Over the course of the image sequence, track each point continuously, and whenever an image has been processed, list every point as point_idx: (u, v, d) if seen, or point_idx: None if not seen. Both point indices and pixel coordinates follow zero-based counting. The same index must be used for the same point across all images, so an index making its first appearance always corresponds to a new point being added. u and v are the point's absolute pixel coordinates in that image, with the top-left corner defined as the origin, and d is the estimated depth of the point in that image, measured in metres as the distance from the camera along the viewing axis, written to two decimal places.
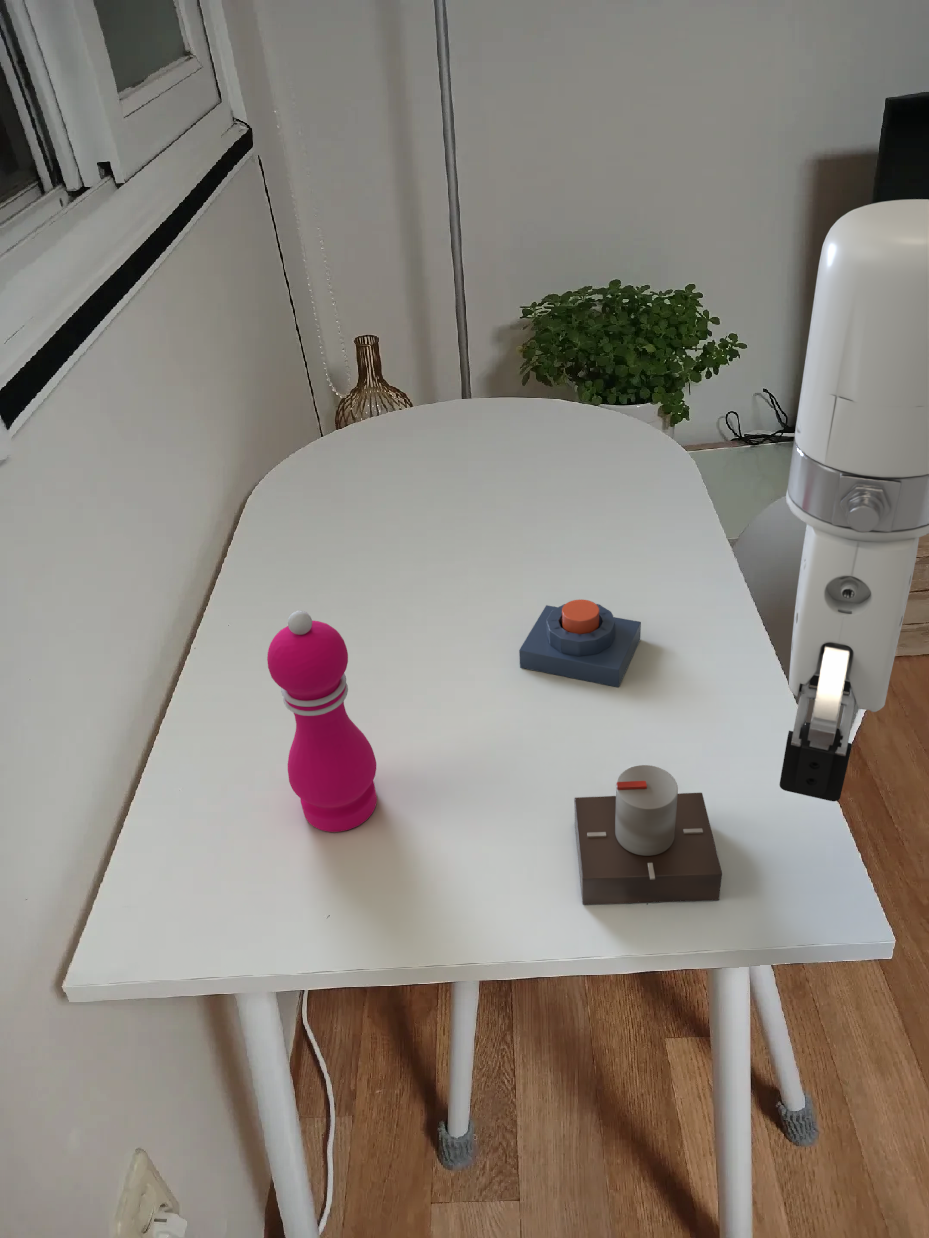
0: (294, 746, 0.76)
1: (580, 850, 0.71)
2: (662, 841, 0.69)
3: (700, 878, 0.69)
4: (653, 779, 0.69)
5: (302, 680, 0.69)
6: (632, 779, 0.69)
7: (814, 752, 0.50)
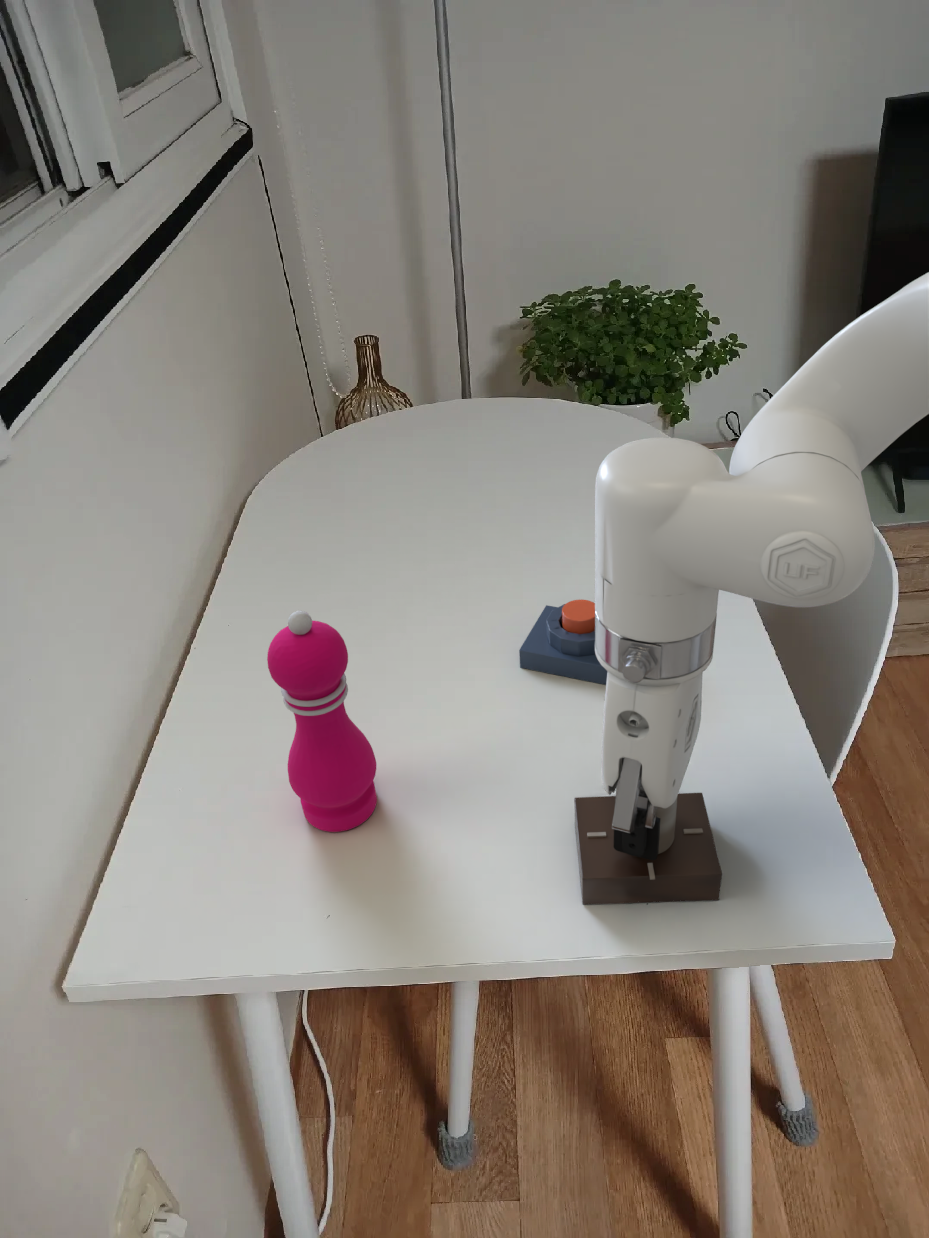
0: (294, 746, 0.76)
1: (580, 850, 0.71)
2: (662, 841, 0.69)
3: (700, 878, 0.69)
4: None
5: (302, 680, 0.69)
6: None
7: None
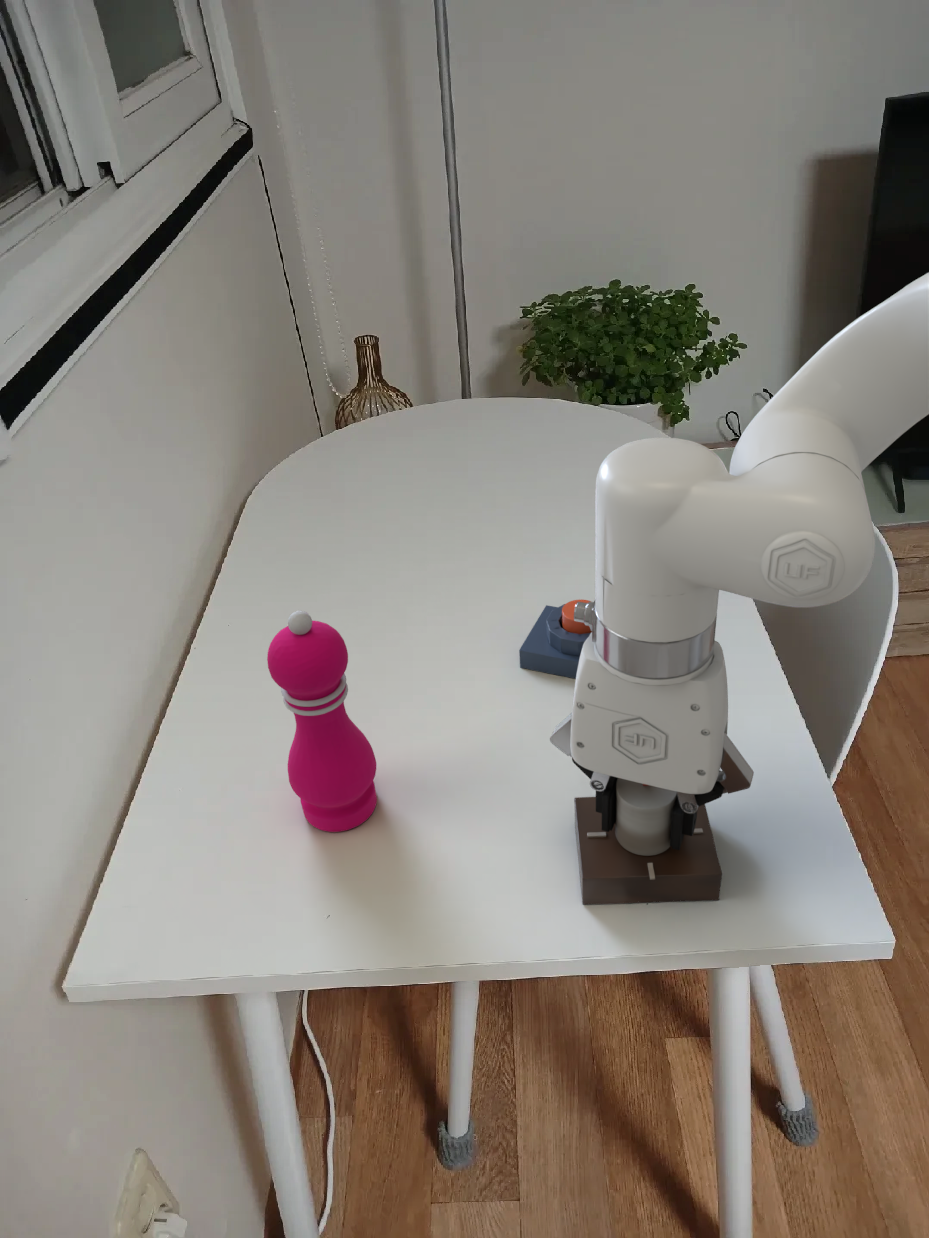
0: (294, 746, 0.76)
1: (580, 850, 0.71)
2: (620, 833, 0.70)
3: (700, 878, 0.69)
4: (656, 791, 0.68)
5: (302, 680, 0.69)
6: None
7: None
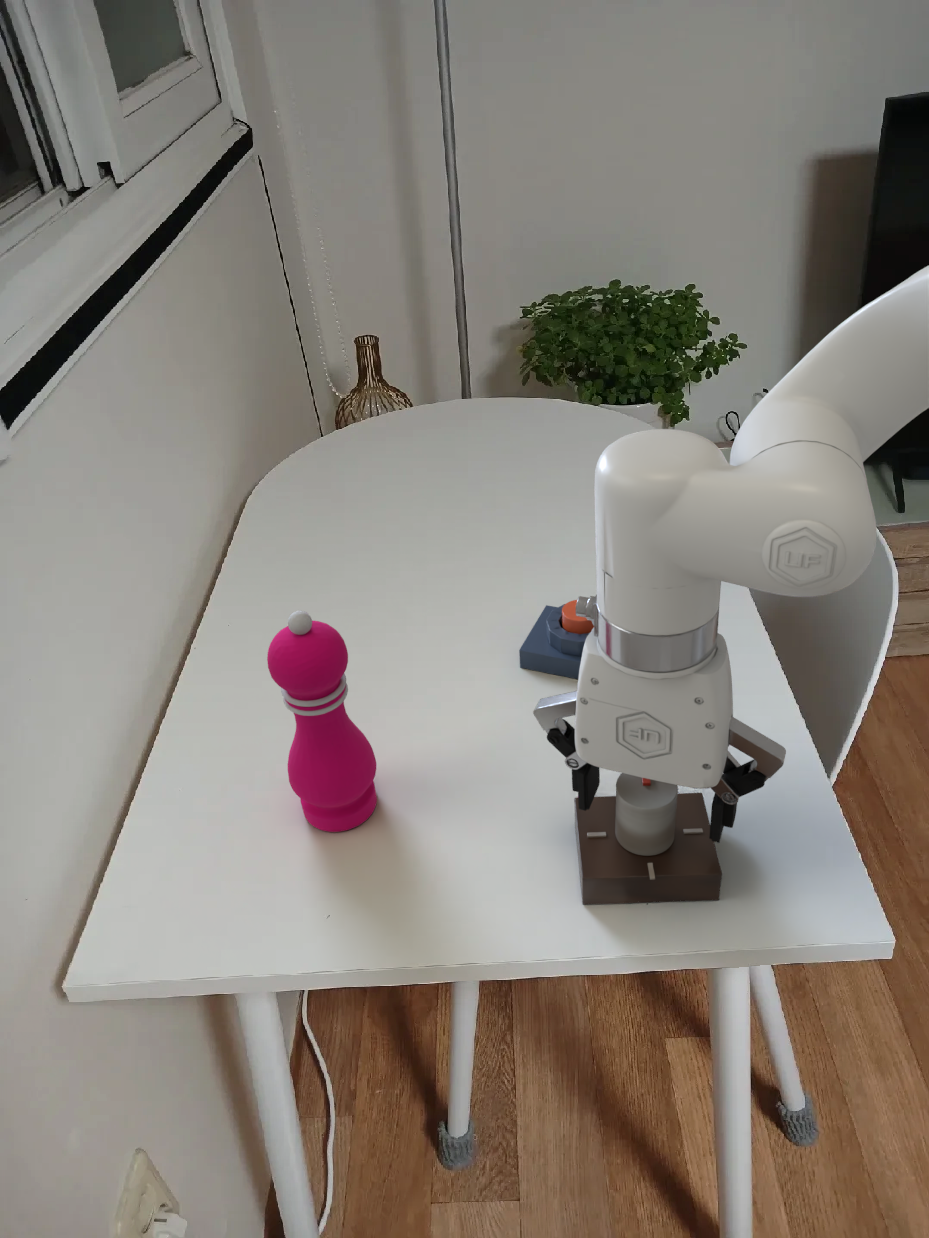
0: (294, 746, 0.76)
1: (580, 850, 0.71)
2: (620, 833, 0.70)
3: (700, 878, 0.69)
4: (656, 791, 0.68)
5: (302, 680, 0.69)
6: None
7: None
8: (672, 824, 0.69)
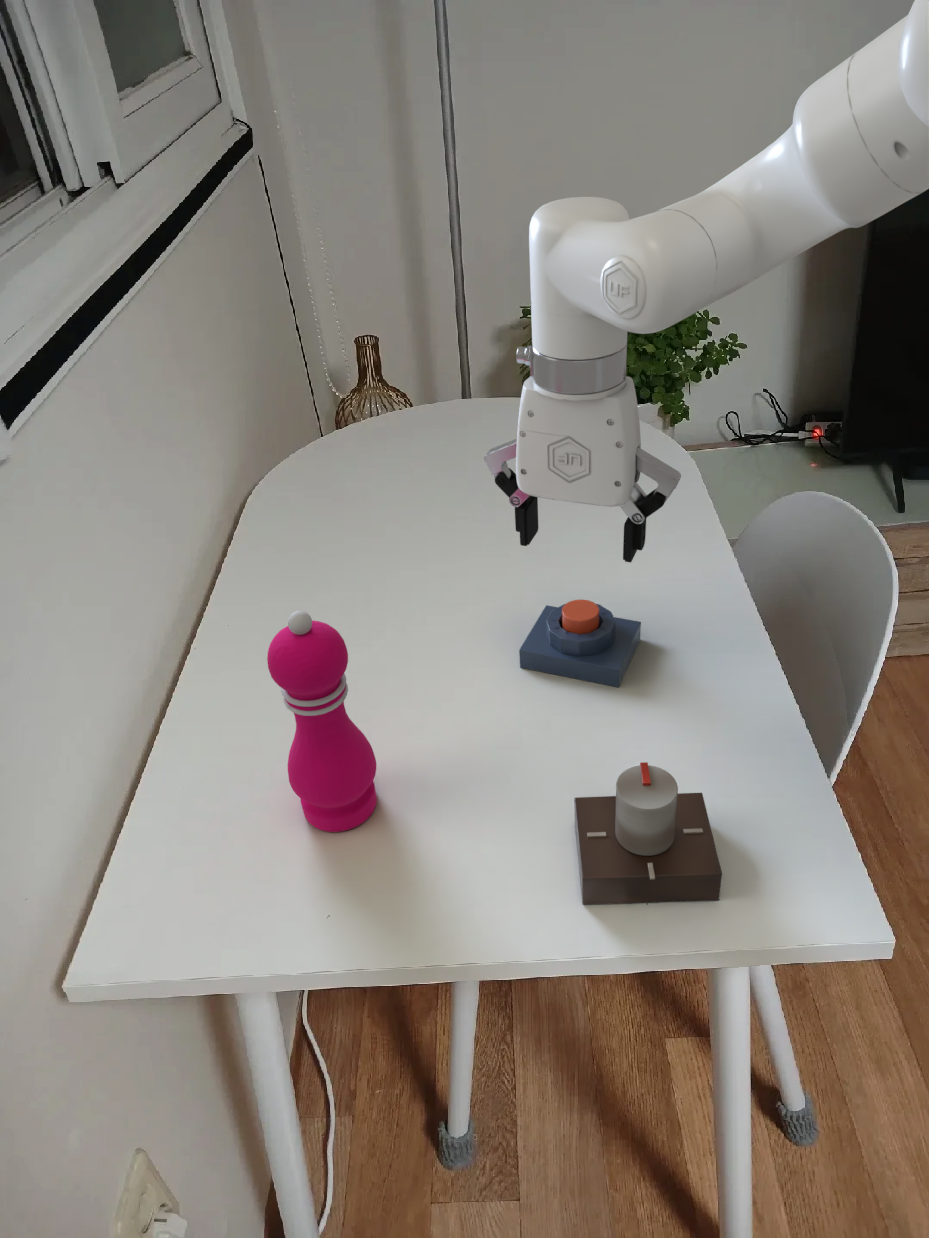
0: (294, 746, 0.76)
1: (580, 850, 0.71)
2: (620, 833, 0.70)
3: (700, 878, 0.69)
4: (656, 791, 0.68)
5: (302, 680, 0.69)
6: (655, 776, 0.70)
7: None
8: (672, 824, 0.69)
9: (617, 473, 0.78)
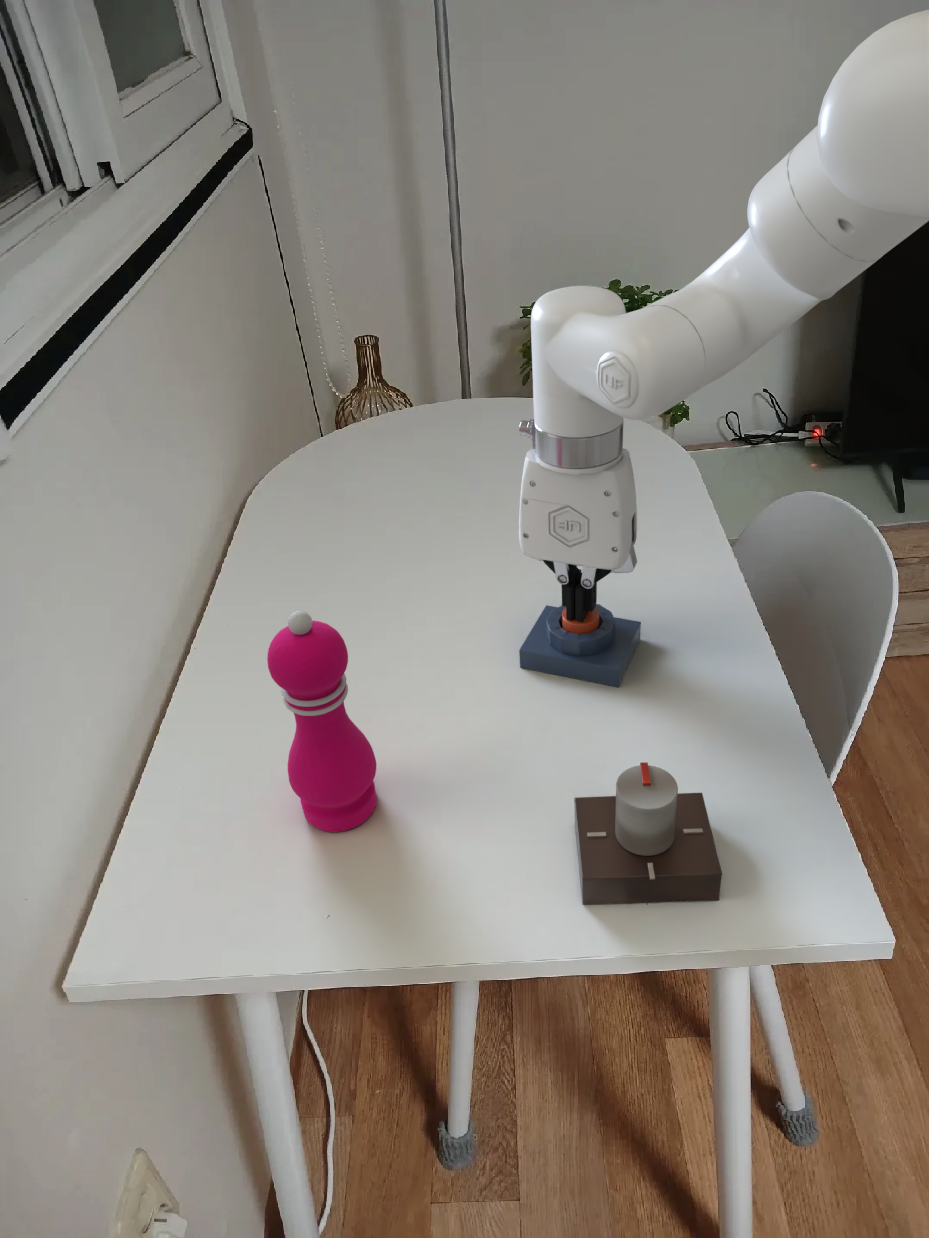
0: (294, 746, 0.76)
1: (580, 850, 0.71)
2: (620, 833, 0.70)
3: (700, 878, 0.69)
4: (656, 791, 0.68)
5: (302, 680, 0.69)
6: (655, 776, 0.70)
7: None
8: (672, 824, 0.69)
9: (614, 540, 0.83)
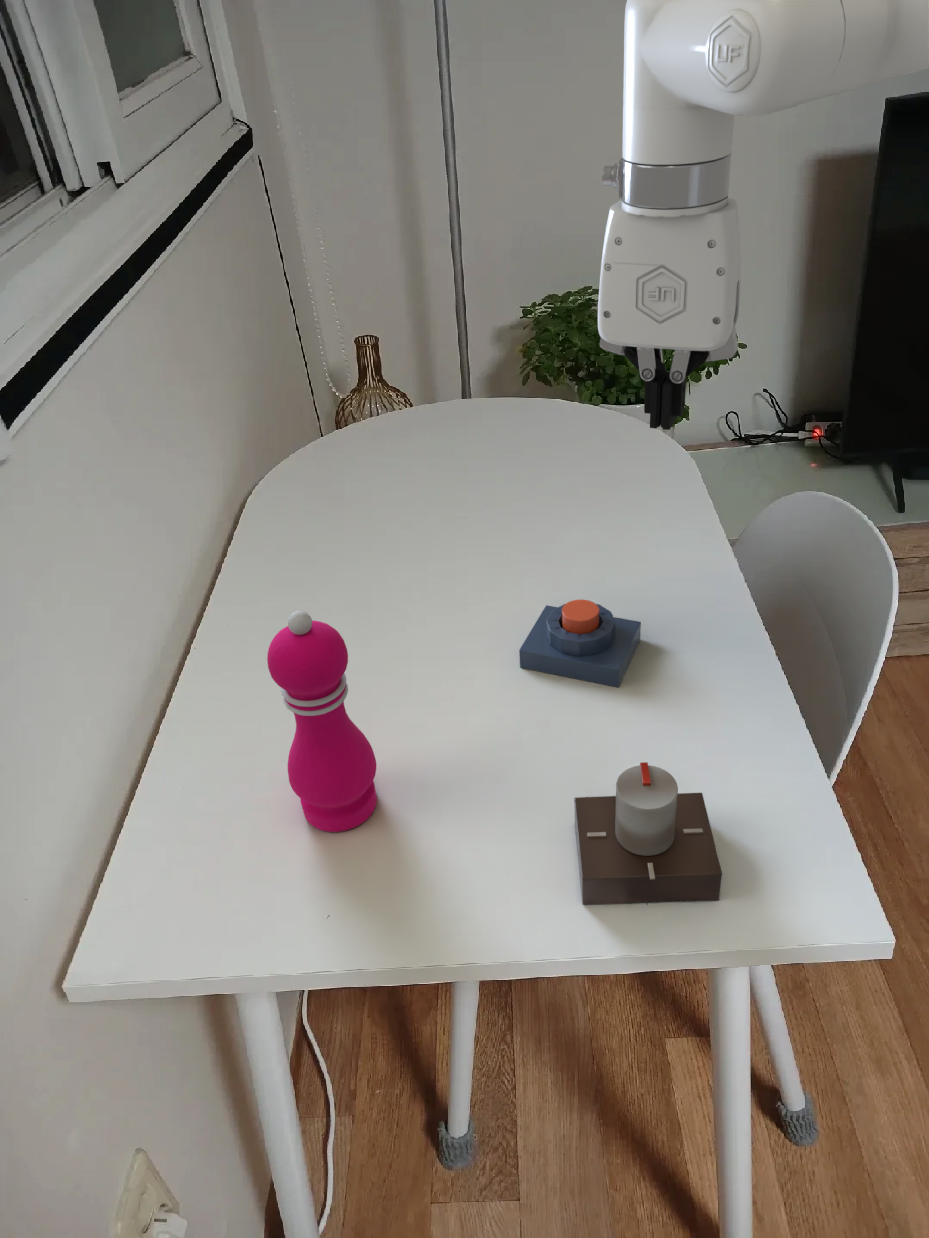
0: (294, 746, 0.76)
1: (580, 850, 0.71)
2: (620, 833, 0.70)
3: (700, 878, 0.69)
4: (656, 791, 0.68)
5: (302, 680, 0.69)
6: (655, 776, 0.70)
7: None
8: (672, 824, 0.69)
9: (716, 307, 0.69)
